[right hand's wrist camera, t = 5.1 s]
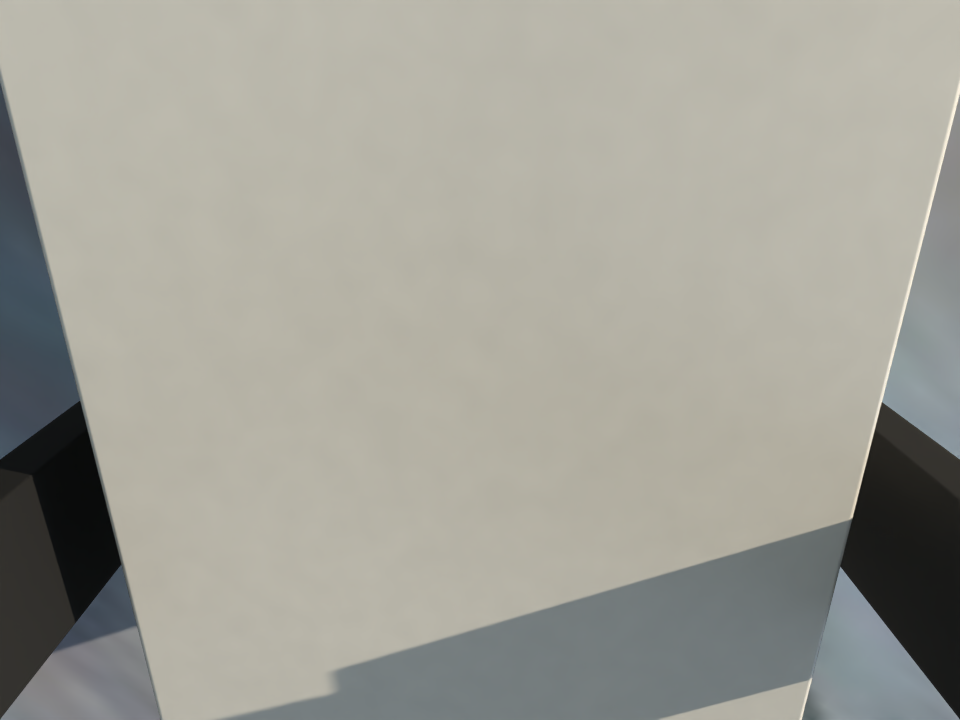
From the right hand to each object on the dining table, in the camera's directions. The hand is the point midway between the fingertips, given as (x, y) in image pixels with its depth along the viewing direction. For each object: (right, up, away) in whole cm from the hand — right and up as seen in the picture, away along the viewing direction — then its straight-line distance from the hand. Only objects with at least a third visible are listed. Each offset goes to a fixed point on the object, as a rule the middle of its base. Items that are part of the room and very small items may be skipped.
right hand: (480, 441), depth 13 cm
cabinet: (0, +8, +2) cm, 9 cm away
